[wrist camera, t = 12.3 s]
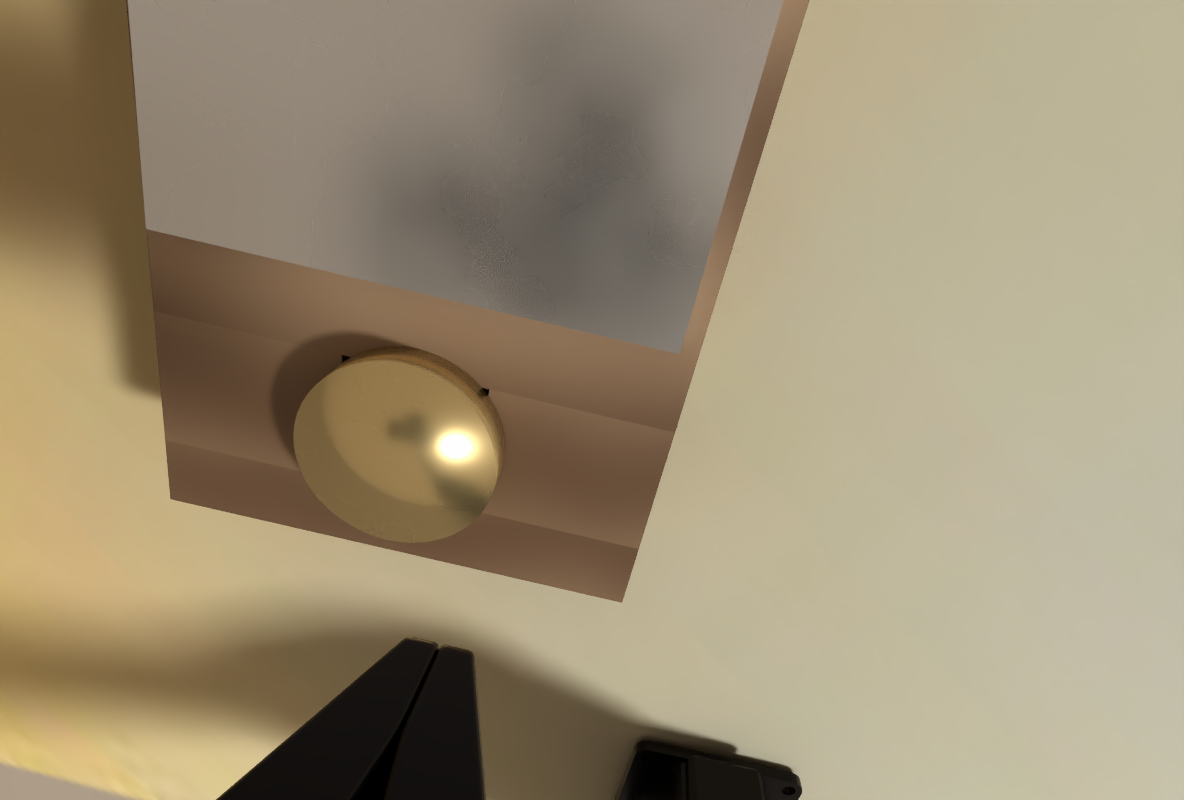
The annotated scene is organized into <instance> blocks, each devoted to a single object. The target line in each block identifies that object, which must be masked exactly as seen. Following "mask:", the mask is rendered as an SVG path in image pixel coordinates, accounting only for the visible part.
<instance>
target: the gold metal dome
mask: <svg viewBox="0 0 1184 800" xmlns="http://www.w3.org/2000/svg"><path fill="white" fill-rule="evenodd" d="M293 439H294V450H295V454H296V459H297V462H298V465H299V468H300V470H301V472H302V474H303V476H304V478H305V480H306V482H307V484H308V485H309V487H310V488H311V490H312V491H313V493H314V494H315V495H316V496H317V497H318V499H319V500H320V501H321V502H322V503H323V504H324V505H325V506H326V507H327V508H328V509H329V510H330V511H331V512H333V513H334V514H335V515H336V516H338V517H339V518H340V519H342V520H343V521H345V522H346V523H348V524H349V525H351V526H353V527H355V528H357V529H359V530H361V531H363V532H365V533H368V534H370V535H373V536H375V537H379V538H382V539H386V540H391V541H397V542H407V543H419V542H429V541H435V540H439V539H442V538H446V537H448V536H451V535H453V534H455V533H457V532H459V531H461V530H462V529H464V528H466V527H467V526H468V525H470V524H471V523H472V522H473V521H474V520H475V519H476V518H477V517H478V516H479V515H480V514H481V513H482V511H483V510H484V508H485V507H486V505H487V504H488V502H489V500H490V497H491V495H492V493H493V490H494V488H495V485H496V483H497V480H498V478H499V475H500V473H501V470H502V467H503V463H504V459H505V450H506V447H505V435H504V429H503V425H502V422H501V419H500V416H499V414H498V412H497V410H496V408H495V406H494V404H493V402H492V401H491V399H490V398H489V389H486V388H482V387H481V386H480V385H479V384H478V382H476V381H475V380H474V379H473V378H472V377H471V376H470V375H469V374H468V373H466V372H465V371H464V370H462V369H461V368H460V367H458V366H457V365H455V364H453V363H452V362H450V361H448V360H446V359H445V358H442V357H440V356H438V355H435V354H433V353H430V352H427V351H423V350H420V349H415V348H409V347H397V346H390V347H379V348H374V349H369V350H366V351H363V352H360V353H358V354H355V355H354V356H352V357H350V358H348V359H346V360H345V361H344V362H342V363H341V364H340V365H338V366H337V367H336V368H335V369H334V370H332V371H331V372H330V373H329V374H328V375H327V376H325V377H324V378H323V379H322V380H321V381H320V382H318V383H317V384H316V385H315V386H314V387H313V388H312V389H311V391H310V392H309V393H308V394H307V396H306V397H305V399H304V400H303V402H302V403H301V406H300V408H299V410H298V412H297V416H296V420H295V424H294V433H293Z"/></svg>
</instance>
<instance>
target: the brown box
mask: <svg viewBox="0 0 1184 800" xmlns="http://www.w3.org/2000/svg"><path fill="white" fill-rule="evenodd" d="M126 2H127V13H128V25H129V36H130V24H129V11H128V0H126ZM808 3H809V0H784V1H783V5H782V8H781V11H780V15H779V18H778V21H777V25H776V28H775V32H774V35H773V38H772V42H771V45H770V49H769V52H768V55H767V59H766V62H765V66H764V69H763V72H762V76H761V79H760V83H759V86H758V89H757V93H756V96H755V100H754V103H753V106H752V110H751V113H750V116H749V120H748V123H747V127H746V130H745V133H744V137H743V140H742V144H741V147H740V150H739V154H738V157H737V161H736V164H735V167H734V171H733V174H732V178H731V181H730V184H729V188H728V191H727V195H726V198H725V201H724V205H723V208H722V211H721V215H720V218H719V222H718V225H717V228H716V232H715V235H714V239H713V242H712V245H711V249H710V252H709V256H708V259H707V262H706V266H705V269H704V273H703V276H702V279H701V283H700V286H699V290H698V293H697V296H696V300H695V303H694V306H693V310H692V313H691V317H690V320H689V323H688V327H687V330H686V334H685V337H684V340H683V344H682V347H681V351H680V354H677V353H672V352H668V351H664V350H660V349H655V348H651V347H647V346H643V345H638V344H634V343H630V342H626V341H621V340H617V339H613V338H609V337H604V336H600V335H596V334H591V333H587V332H583V331H579V330H574V329H570V328H566V327H562V326H557V325H553V324H549V323H545V322H540V321H536V320H532V319H528V318H523V317H519V316H515V315H511V314H506V313H502V312H498V311H494V310H489V309H485V308H481V307H476V306H472V305H468V304H464V303H459V302H455V301H451V300H447V299H442V298H438V297H434V296H430V295H425V294H421V293H417V292H413V291H408V290H404V289H400V288H396V287H391V286H387V285H383V284H379V283H374V282H370V281H366V280H361V279H357V278H353V277H349V276H344V275H340V274H336V273H332V272H327V271H323V270H319V269H315V268H310V267H306V266H302V265H298V264H293V263H289V262H285V261H281V260H276V259H272V258H268V257H264V256H259V255H255V254H251V253H246V252H242V251H238V250H234V249H229V248H225V247H221V246H217V245H212V244H208V243H204V242H200V241H195V240H191V239H187V238H183V237H178V236H174V235H170V234H166V233H161V232H157V231H153V230H149V229H147V239H148V250H149V261H150V273H151V284H152V295H153V307H154V318H155V329H156V340H157V352H158V363H159V374H160V385H161V397H162V408H163V419H164V431H165V442H166V453H167V464H168V476H169V487H170V498H171V499H173V500H177V501H181V502H186V503H190V504H194V505H199V506H203V507H207V508H212V509H216V510H221V511H225V512H229V513H234V514H238V515H242V516H247V517H251V518H255V519H260V520H264V521H269V522H273V523H277V524H282V525H286V526H290V527H295V528H299V529H303V530H308V531H312V532H316V533H321V534H325V535H330V536H334V537H338V538H343V539H347V540H351V541H356V542H360V543H364V544H369V545H373V546H378V547H382V548H386V549H391V550H395V551H399V552H404V553H408V554H412V555H417V556H421V557H426V558H430V559H434V560H439V561H443V562H447V563H452V564H456V565H460V566H465V567H469V568H474V569H478V570H482V571H487V572H491V573H495V574H500V575H504V576H508V577H513V578H517V579H521V580H526V581H530V582H535V583H539V584H543V585H548V586H552V587H556V588H561V589H565V590H569V591H574V592H578V593H583V594H587V595H591V596H596V597H600V598H604V599H609V600H613V601H617V602H622V601H623V598H624V594H625V591H626V588H627V585H628V582H629V578H630V575H631V572H632V569H633V565H634V562H635V559H636V556H637V553H638V549H639V546H640V543H641V540H642V537H643V533H644V530H645V527H646V524H647V521H648V517H649V514H650V511H651V508H652V504H653V501H654V498H655V495H656V492H657V488H658V485H659V482H660V479H661V476H662V472H663V469H664V466H665V463H666V459H667V456H668V453H669V450H670V447H671V443H672V440H673V437H674V434H675V431H676V427H677V424H678V421H679V418H680V414H681V411H682V408H683V405H684V402H685V398H686V395H687V392H688V389H689V386H690V382H691V379H692V376H693V373H694V370H695V366H696V363H697V360H698V357H699V353H700V350H701V347H702V344H703V341H704V337H705V334H706V331H707V328H708V325H709V321H710V318H711V315H712V312H713V308H714V305H715V302H716V299H717V296H718V292H719V289H720V286H721V283H722V280H723V276H724V273H725V270H726V267H727V264H728V260H729V257H730V254H731V251H732V247H733V244H734V241H735V238H736V235H737V231H738V228H739V225H740V222H741V219H742V215H743V212H744V209H745V206H746V202H747V199H748V196H749V193H750V190H751V186H752V183H753V180H754V177H755V174H756V170H757V167H758V164H759V161H760V157H761V154H762V151H763V148H764V145H765V141H766V138H767V135H768V132H769V129H770V125H771V122H772V119H773V116H774V113H775V109H776V106H777V103H778V100H779V96H780V93H781V90H782V87H783V84H784V80H785V77H786V74H787V71H788V68H789V64H790V61H791V58H792V55H793V51H794V48H795V45H796V42H797V39H798V35H799V32H800V29H801V26H802V23H803V19H804V16H805V13H806V10H807V6H808ZM130 47H131V36H130ZM131 58H132V48H131ZM132 70H133V61H132ZM133 81H134V73H133ZM134 92H135V86H134ZM135 104H136V98H135ZM136 115H137V111H136ZM137 126H138V123H137ZM138 137H139V136H138ZM139 149H140V148H139ZM390 346H397V347H409V348H415V349H420V350H423V351H427V352H430V353H433V354H435V355H438V356H440V357H442V358H445V359H446V360H448V361H450V362H452V363H453V364H455V365H457V366H458V367H460V368H461V369H462V370H464V371H465V372H466V373H468V374H469V375H470V376H471V377H472V378H473V379H474V380H475V381H476V382H478V384H479V385H480V386H481V387H482V388H486V389H489V398H490V399H491V401H492V402H493V404H494V406H495V408H496V410H497V412H498V414H499V416H500V419H501V422H502V425H503V429H504V435H505V447H506V450H505V459H504V463H503V467H502V470H501V473H500V475H499V478H498V480H497V483H496V485H495V488H494V490H493V493H492V495H491V497H490V500H489V502H488V504H487V505H486V507H485V508H484V510H483V511H482V513H481V514H480V515H479V516H478V517H477V518H476V519H475V520H474V521H473V522H472V523H471V524H470V525H468V526H467V527H466V528H464V529H462V530H461V531H459V532H457V533H455V534H453V535H451V536H448V537H446V538H442V539H439V540H435V541H429V542H419V543H407V542H397V541H391V540H386V539H382V538H379V537H375V536H373V535H370V534H368V533H365V532H363V531H361V530H359V529H357V528H355V527H353V526H351V525H349V524H348V523H346V522H345V521H343V520H342V519H340V518H339V517H338V516H336V515H335V514H334V513H333V512H331V511H330V510H329V509H328V508H327V507H326V506H325V505H324V504H323V503H322V502H321V501H320V500H319V499H318V497H317V496H316V495H315V494H314V493H313V491H312V490H311V488H310V487H309V485H308V484H307V482H306V480H305V478H304V476H303V474H302V472H301V470H300V468H299V465H298V462H297V459H296V454H295V450H294V439H293V433H294V424H295V420H296V416H297V412H298V410H299V408H300V406H301V403H302V402H303V400H304V399H305V397H306V396H307V394H308V393H309V392H310V391H311V389H312V388H313V387H314V386H315V385H316V384H317V383H318V382H320V381H321V380H322V379H323V378H324V377H325V376H327V375H328V374H329V373H330V372H331V371H332V370H334V369H335V368H336V367H337V366H338V365H340V364H341V363H342V362H344V361H345V360H346V359H348V358H350V357H352V356H354V355H355V354H358V353H360V352H363V351H366V350H369V349H374V348H379V347H390Z"/></svg>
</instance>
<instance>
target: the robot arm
mask: <svg viewBox="0 0 1184 800" xmlns="http://www.w3.org/2000/svg"><path fill="white" fill-rule="evenodd" d="M801 794H802V787H801V782H800V779H799V777H798V776H797V775H796V774H793V773H790V772H786V771H781V770H777V769H773V768H768V767H764V766H759V765H755V764H751V763H746V762H742V761H737V760H733V759H728V758H724V757H720V756H715V755H711V754H706V753H702V752H698V751H693V750H689V749H684V748H680V747H675V746H671V745H667V744H662V743H658V742H653V741H646V740H645V741H640V742H639V743H637V744H636V745H635V747H634V750H633V753H632V755H631V758H630V761H629V763H628V766H627V769H626V771H625V774H624V777H623V779H622V782H621V785H620V788H619V790H618V793H617V796H616V798H615V800H798V799H799V797H800V795H801ZM216 800H486V794H485V782H484V770H483V757H482V745H481V733H480V720H479V708H478V695H477V683H476V671H475V659H474V655H473V653H472V652H471V651H469V650H465V649H461V648H457V647H452V646H448V645H444V646H442V647H441V648H440V649H439V646H438V644H436V643H435V642H431V641H426V640H422V639H418V638H413V637H409V638H405V639H404V640H402V641H401V642H400V643H399V644H398V645H396V646H395V647H394V648H393V649H392V650H391V651H389V652H388V653H387V654H386V655H385V656H383V657H382V658H381V659H380V660H379V661H378V662H376V663H375V664H374V665H373V666H372V667H371V668H369V669H368V670H367V671H366V672H365V673H364V674H362V675H361V676H360V677H359V678H358V679H357V680H355V681H354V682H353V683H352V684H351V685H350V686H348V687H347V688H346V689H345V690H344V691H343V692H341V693H340V694H339V695H338V696H337V697H336V698H334V699H333V700H332V701H331V702H330V703H329V704H327V705H326V706H325V707H324V708H323V709H322V710H320V711H319V712H318V713H317V714H316V715H314V716H313V717H312V718H311V719H310V720H309V721H307V722H306V723H305V724H304V725H303V726H302V727H300V728H299V729H298V730H297V731H296V732H295V733H293V734H292V735H291V736H290V737H289V738H288V739H286V740H285V741H284V742H283V743H282V744H281V745H279V746H278V747H277V748H276V749H275V750H274V751H272V752H271V753H270V754H269V755H268V756H267V757H265V758H264V759H263V760H262V761H261V762H260V763H258V764H257V765H256V766H255V767H254V768H253V769H251V770H250V771H249V772H248V773H247V774H245V775H244V776H243V777H242V778H241V779H240V780H238V781H237V782H236V783H235V784H234V785H233V786H231V787H230V788H229V789H228V790H227V791H226V792H224V793H223V794H222V795H221V796H220V797H219V798H217V799H216Z"/></svg>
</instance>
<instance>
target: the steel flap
mask: <svg viewBox="0 0 1184 800" xmlns="http://www.w3.org/2000/svg"><path fill="white" fill-rule="evenodd" d="M783 1H784V0H128V11H129V24H130V36H131V48H132V61H133V73H134V86H135V98H136V111H137V123H138V136H139V148H140V161H141V173H142V186H143V198H144V211H145V223H146V229H149V230H153V231H157V232H161V233H166V234H170V235H174V236H178V237H183V238H187V239H191V240H195V241H200V242H204V243H208V244H212V245H217V246H221V247H225V248H229V249H234V250H238V251H242V252H246V253H251V254H255V255H259V256H264V257H268V258H272V259H276V260H281V261H285V262H289V263H293V264H298V265H302V266H306V267H310V268H315V269H319V270H323V271H327V272H332V273H336V274H340V275H344V276H349V277H353V278H357V279H361V280H366V281H370V282H374V283H379V284H383V285H387V286H391V287H396V288H400V289H404V290H408V291H413V292H417V293H421V294H425V295H430V296H434V297H438V298H442V299H447V300H451V301H455V302H459V303H464V304H468V305H472V306H476V307H481V308H485V309H489V310H494V311H498V312H502V313H506V314H511V315H515V316H519V317H523V318H528V319H532V320H536V321H540V322H545V323H549V324H553V325H557V326H562V327H566V328H570V329H574V330H579V331H583V332H587V333H591V334H596V335H600V336H604V337H609V338H613V339H617V340H621V341H626V342H630V343H634V344H638V345H643V346H647V347H651V348H655V349H660V350H664V351H668V352H672V353H677V354H680V351H681V347H682V344H683V340H684V337H685V334H686V330H687V327H688V323H689V320H690V317H691V313H692V310H693V306H694V303H695V300H696V296H697V293H698V290H699V286H700V283H701V279H702V276H703V273H704V269H705V266H706V262H707V259H708V256H709V252H710V249H711V245H712V242H713V239H714V235H715V232H716V228H717V225H718V222H719V218H720V215H721V211H722V208H723V205H724V201H725V198H726V195H727V191H728V188H729V184H730V181H731V178H732V174H733V171H734V167H735V164H736V161H737V157H738V154H739V150H740V147H741V144H742V140H743V137H744V133H745V130H746V127H747V123H748V120H749V116H750V113H751V110H752V106H753V103H754V100H755V96H756V93H757V89H758V86H759V83H760V79H761V76H762V72H763V69H764V66H765V62H766V59H767V55H768V52H769V49H770V45H771V42H772V38H773V35H774V32H775V28H776V25H777V21H778V18H779V15H780V11H781V8H782V5H783Z"/></svg>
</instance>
